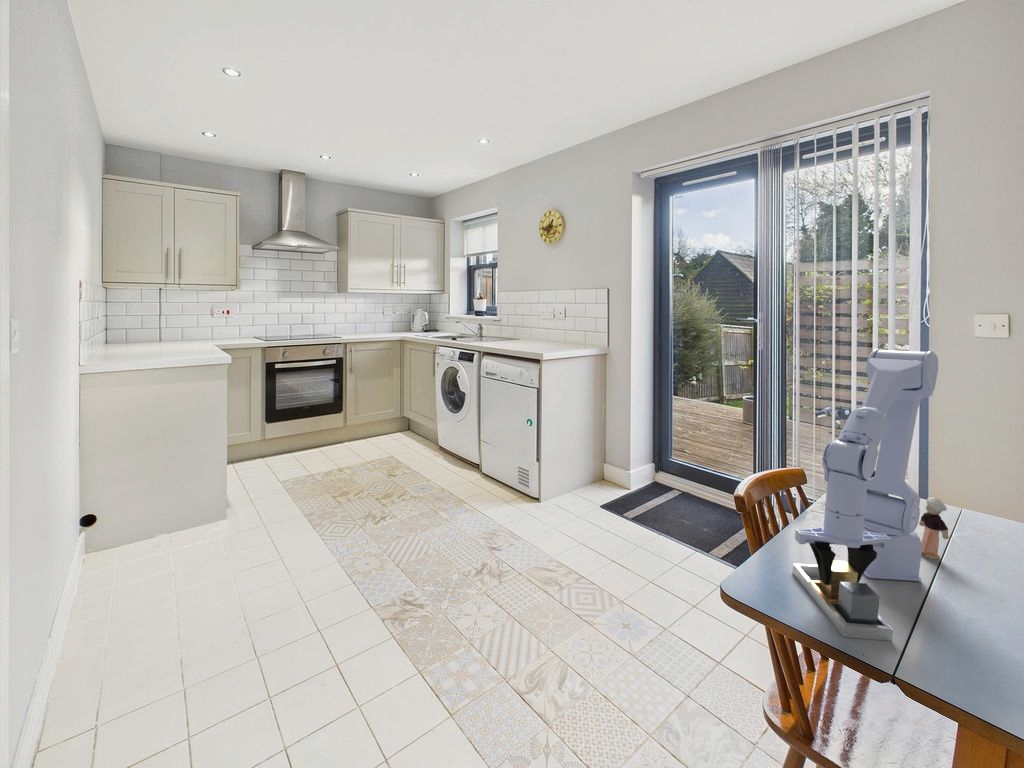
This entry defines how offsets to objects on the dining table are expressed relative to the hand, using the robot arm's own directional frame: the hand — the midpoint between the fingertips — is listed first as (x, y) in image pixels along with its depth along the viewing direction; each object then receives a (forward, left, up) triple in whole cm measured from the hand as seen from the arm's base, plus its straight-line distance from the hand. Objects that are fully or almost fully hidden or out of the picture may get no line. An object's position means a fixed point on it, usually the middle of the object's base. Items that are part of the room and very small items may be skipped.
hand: (838, 583), depth 87 cm
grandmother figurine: (-28, -21, -4) cm, 36 cm away
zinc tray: (0, 0, -4) cm, 4 cm away
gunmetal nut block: (0, +7, -4) cm, 8 cm away
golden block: (0, 0, -3) cm, 3 cm away
